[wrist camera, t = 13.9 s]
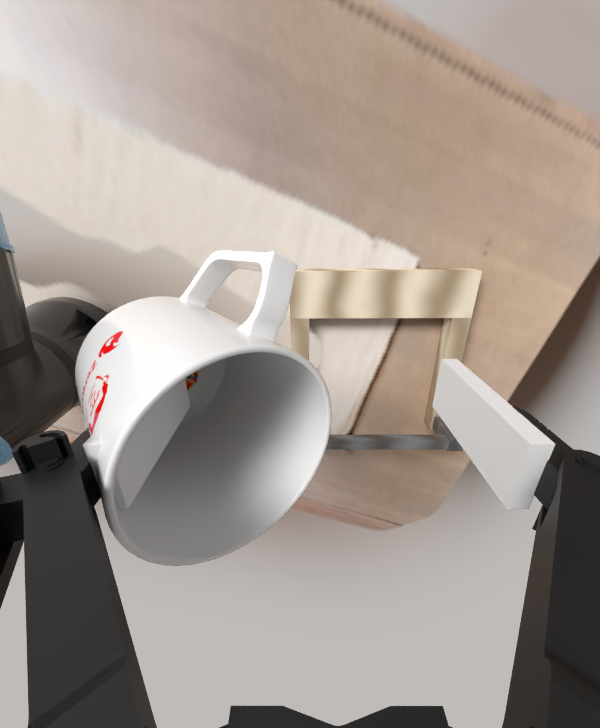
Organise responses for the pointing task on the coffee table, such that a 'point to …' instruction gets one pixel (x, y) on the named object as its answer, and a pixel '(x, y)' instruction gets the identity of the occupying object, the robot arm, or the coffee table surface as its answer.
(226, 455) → the mug
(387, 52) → the coffee table surface
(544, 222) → the coffee table surface
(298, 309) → the beige and grey frame
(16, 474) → the robot arm
